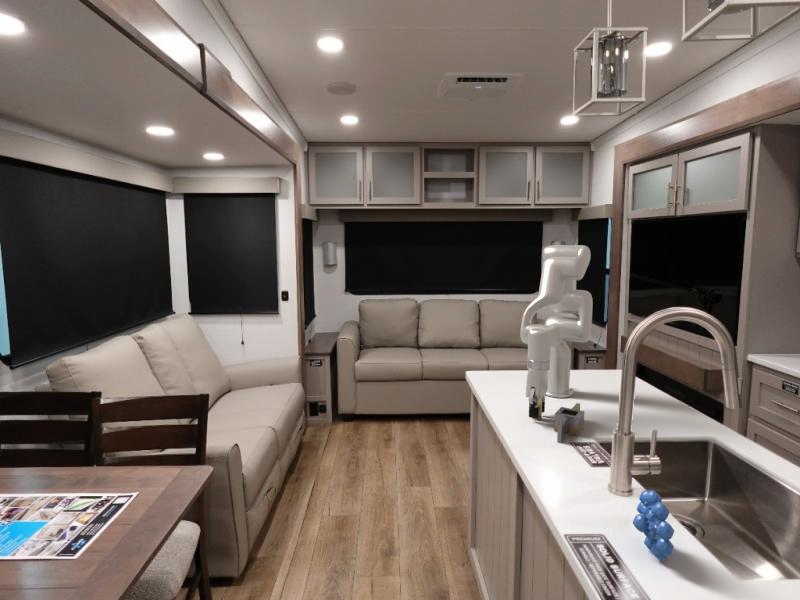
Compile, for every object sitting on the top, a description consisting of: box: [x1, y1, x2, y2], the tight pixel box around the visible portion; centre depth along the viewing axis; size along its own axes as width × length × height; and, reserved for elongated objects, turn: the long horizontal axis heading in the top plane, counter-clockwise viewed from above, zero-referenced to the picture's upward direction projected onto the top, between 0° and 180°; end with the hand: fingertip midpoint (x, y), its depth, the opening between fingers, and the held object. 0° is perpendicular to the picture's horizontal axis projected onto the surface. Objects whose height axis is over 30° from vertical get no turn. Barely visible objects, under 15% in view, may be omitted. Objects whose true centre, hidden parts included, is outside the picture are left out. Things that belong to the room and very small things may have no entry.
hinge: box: [553, 402, 585, 444], centre depth 155 cm, size 24×8×6 cm, turn 146°
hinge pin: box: [531, 396, 542, 421], centre depth 165 cm, size 3×3×9 cm
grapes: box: [632, 489, 675, 562], centre depth 94 cm, size 12×7×12 cm, turn 177°
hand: (536, 414), depth 165 cm, fingers open, 6 cm apart
